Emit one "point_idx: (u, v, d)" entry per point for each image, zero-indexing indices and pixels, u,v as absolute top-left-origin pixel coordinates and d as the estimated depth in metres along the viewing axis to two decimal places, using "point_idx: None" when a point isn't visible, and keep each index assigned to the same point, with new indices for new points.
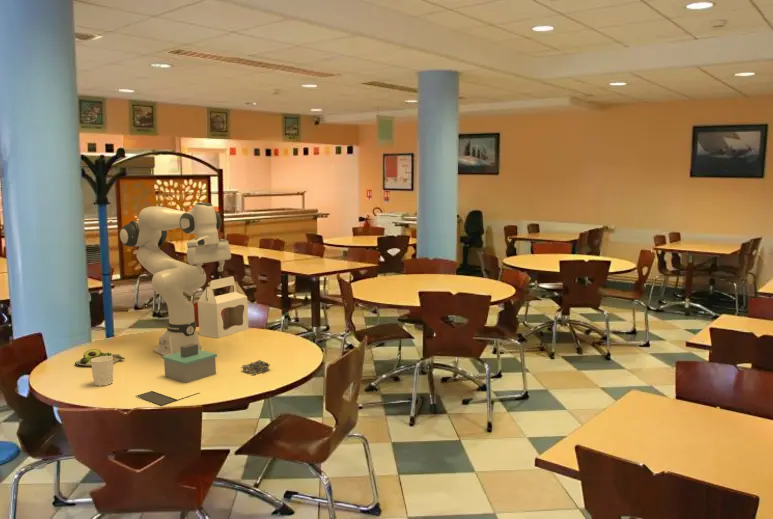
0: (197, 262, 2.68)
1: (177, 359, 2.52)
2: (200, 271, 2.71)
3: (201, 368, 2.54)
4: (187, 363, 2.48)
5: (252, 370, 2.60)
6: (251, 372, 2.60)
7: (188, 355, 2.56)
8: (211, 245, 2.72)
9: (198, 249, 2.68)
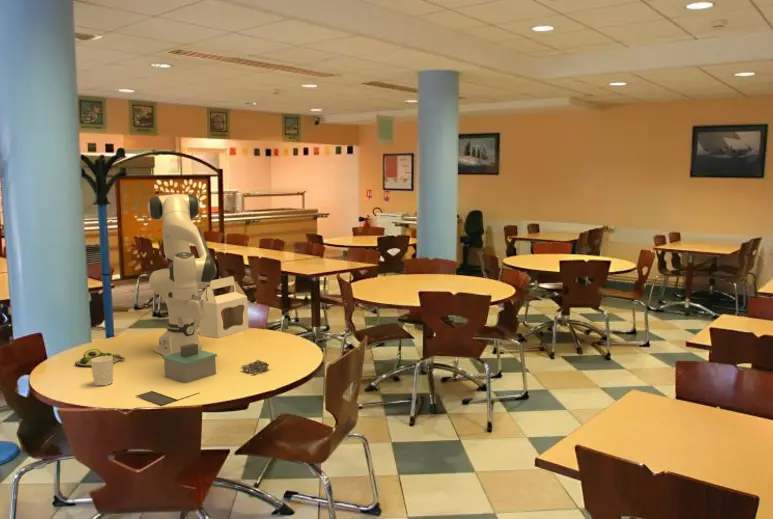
0: (172, 313, 2.59)
1: (177, 359, 2.52)
2: None
3: (201, 368, 2.54)
4: (187, 363, 2.48)
5: (252, 370, 2.60)
6: (251, 372, 2.60)
7: (188, 355, 2.56)
8: (178, 300, 2.53)
9: (171, 301, 2.57)
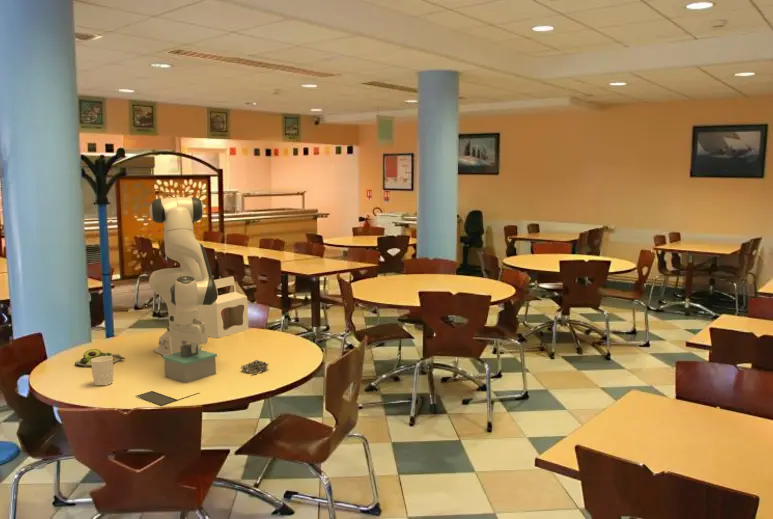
0: (173, 336, 2.60)
1: (177, 359, 2.52)
2: None
3: (201, 368, 2.54)
4: (187, 363, 2.48)
5: (253, 370, 2.60)
6: (252, 372, 2.60)
7: (188, 355, 2.56)
8: (180, 324, 2.54)
9: (173, 324, 2.59)
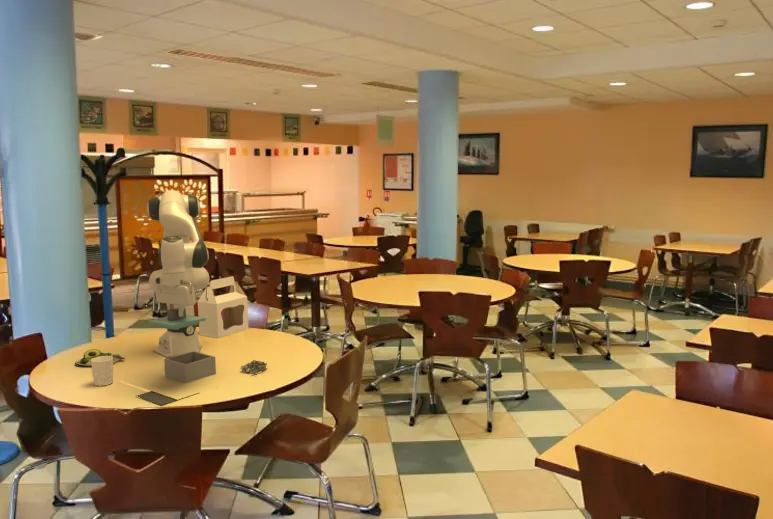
0: (159, 300, 2.48)
1: (163, 322, 2.40)
2: None
3: (201, 368, 2.54)
4: (174, 325, 2.36)
5: (254, 370, 2.60)
6: (253, 372, 2.60)
7: (175, 319, 2.43)
8: (166, 286, 2.42)
9: (159, 287, 2.46)
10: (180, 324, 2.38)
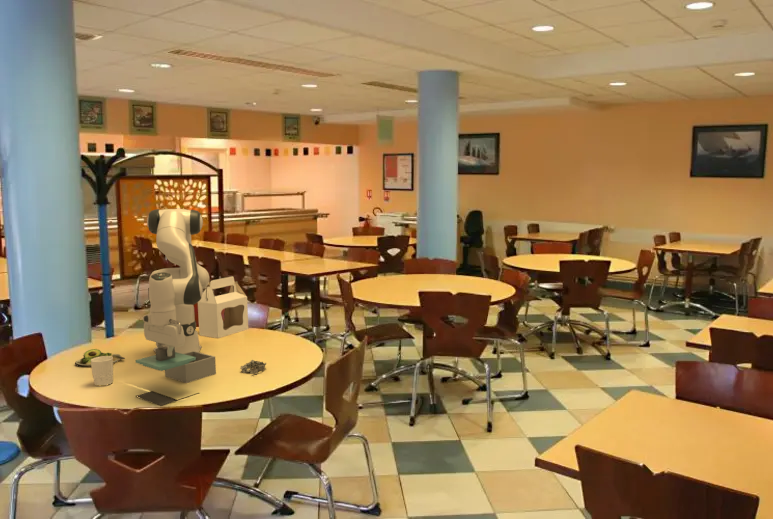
0: (148, 338, 2.39)
1: (151, 363, 2.30)
2: None
3: (201, 368, 2.54)
4: (162, 367, 2.27)
5: (254, 370, 2.60)
6: (253, 372, 2.60)
7: (164, 358, 2.34)
8: (155, 325, 2.33)
9: (147, 325, 2.37)
10: (168, 365, 2.29)
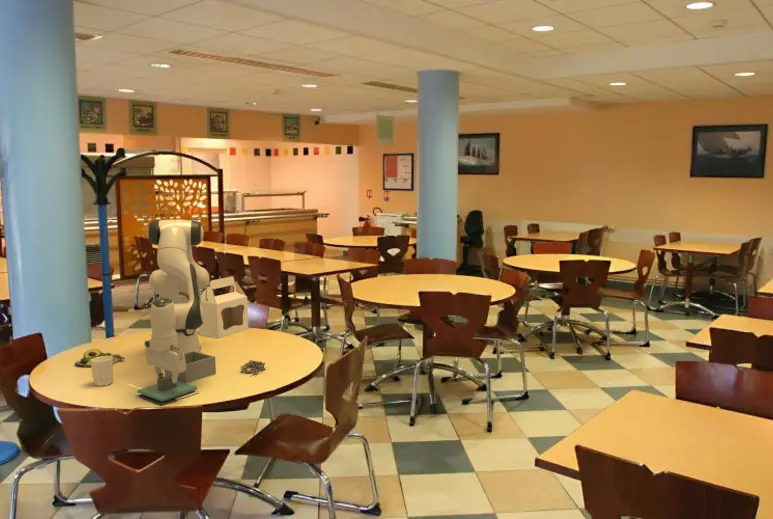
0: (149, 363, 2.40)
1: (153, 393, 2.32)
2: None
3: (201, 368, 2.54)
4: (164, 398, 2.29)
5: (254, 370, 2.60)
6: (254, 372, 2.60)
7: (165, 388, 2.36)
8: (156, 350, 2.34)
9: (149, 350, 2.38)
10: (170, 396, 2.31)
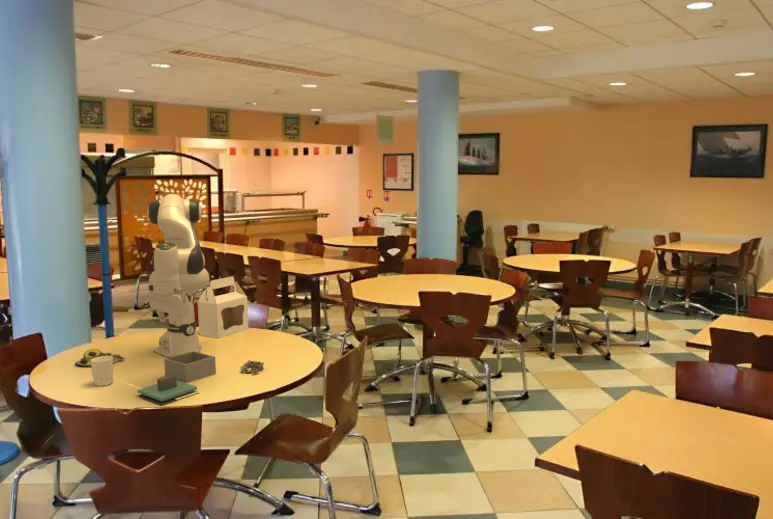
0: (153, 308, 2.42)
1: (153, 393, 2.32)
2: None
3: (201, 368, 2.54)
4: (164, 398, 2.29)
5: (255, 369, 2.61)
6: (254, 372, 2.60)
7: (165, 388, 2.36)
8: (160, 294, 2.35)
9: (153, 294, 2.40)
10: (170, 396, 2.31)
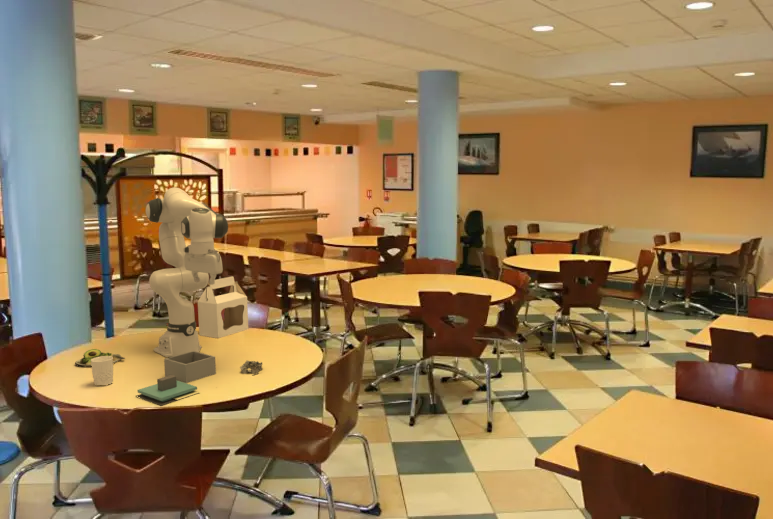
0: (188, 269, 2.62)
1: (153, 393, 2.32)
2: None
3: (201, 368, 2.54)
4: (164, 398, 2.29)
5: (255, 369, 2.61)
6: (255, 371, 2.60)
7: (165, 388, 2.36)
8: (195, 255, 2.56)
9: (188, 256, 2.61)
10: (170, 396, 2.31)
